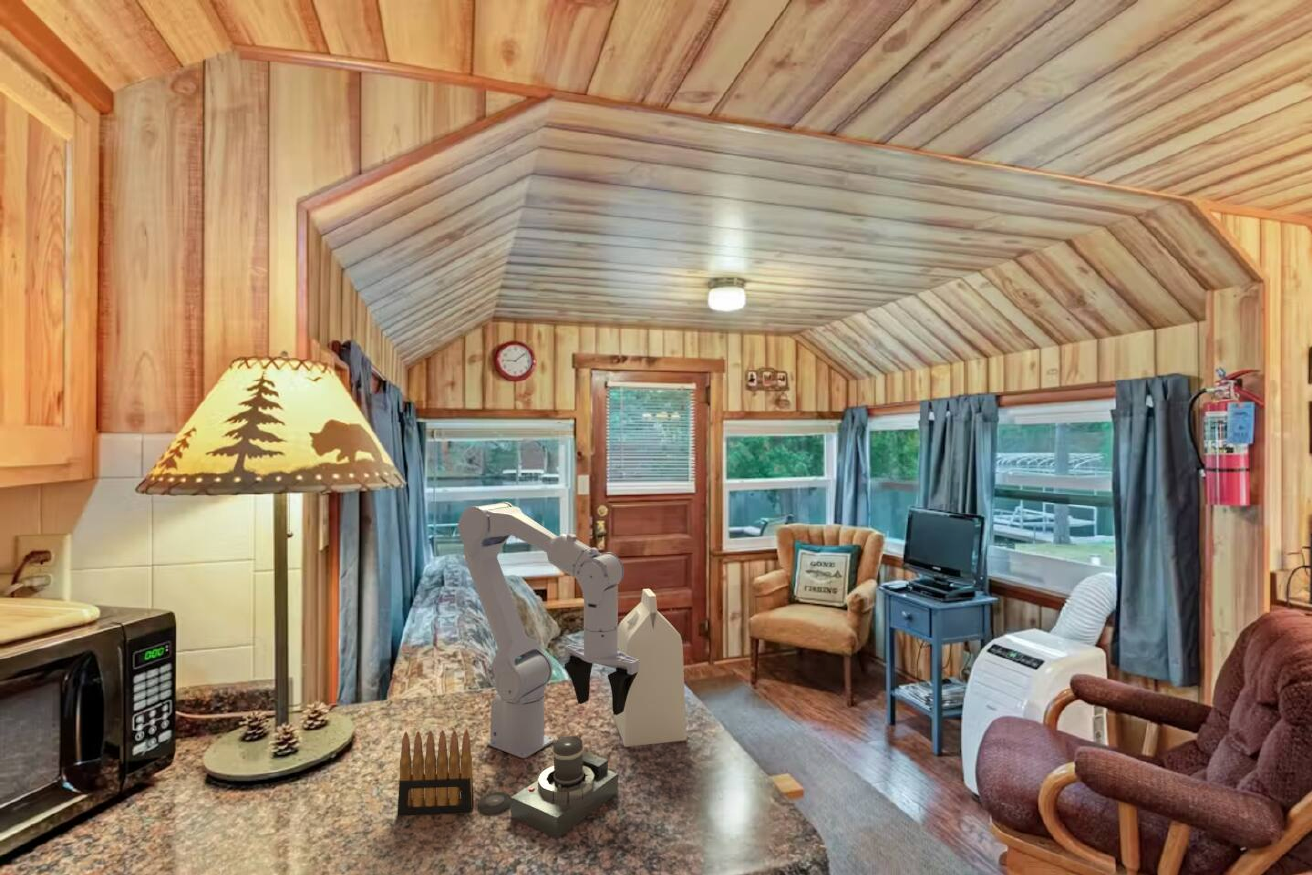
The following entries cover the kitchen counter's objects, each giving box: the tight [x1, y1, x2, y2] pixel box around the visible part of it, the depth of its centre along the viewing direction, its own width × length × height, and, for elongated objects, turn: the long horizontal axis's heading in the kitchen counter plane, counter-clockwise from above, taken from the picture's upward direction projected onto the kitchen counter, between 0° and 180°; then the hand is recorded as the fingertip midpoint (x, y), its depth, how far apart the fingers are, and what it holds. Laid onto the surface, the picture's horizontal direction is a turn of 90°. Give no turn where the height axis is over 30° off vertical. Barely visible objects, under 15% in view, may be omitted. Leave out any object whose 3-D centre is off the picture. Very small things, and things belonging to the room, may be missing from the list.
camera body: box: [510, 750, 619, 840], centre depth 99 cm, size 9×14×5 cm, turn 146°
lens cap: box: [477, 791, 512, 815], centre depth 99 cm, size 5×5×1 cm
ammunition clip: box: [397, 729, 475, 817], centre depth 97 cm, size 11×2×12 cm, turn 95°
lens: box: [552, 735, 584, 788], centre depth 99 cm, size 5×5×6 cm
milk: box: [613, 588, 688, 748], centre depth 124 cm, size 12×12×26 cm
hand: (600, 707), depth 110 cm, fingers open, 7 cm apart
